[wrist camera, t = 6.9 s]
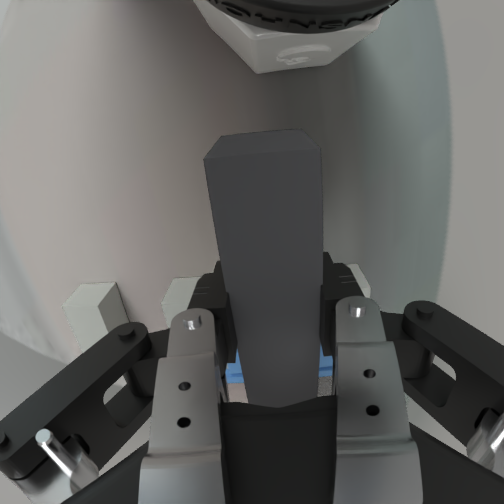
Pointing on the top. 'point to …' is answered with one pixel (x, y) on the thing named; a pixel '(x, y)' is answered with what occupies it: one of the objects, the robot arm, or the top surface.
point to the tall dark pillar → (271, 257)
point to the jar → (292, 29)
